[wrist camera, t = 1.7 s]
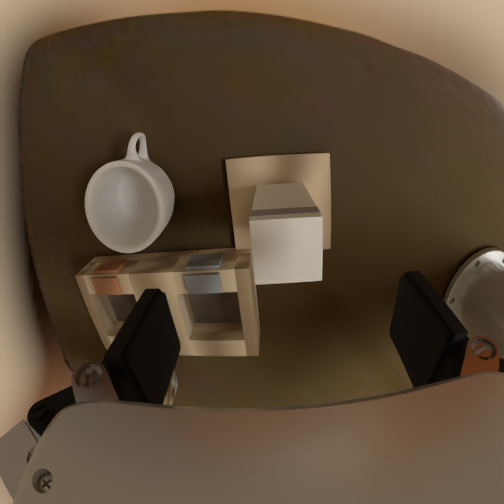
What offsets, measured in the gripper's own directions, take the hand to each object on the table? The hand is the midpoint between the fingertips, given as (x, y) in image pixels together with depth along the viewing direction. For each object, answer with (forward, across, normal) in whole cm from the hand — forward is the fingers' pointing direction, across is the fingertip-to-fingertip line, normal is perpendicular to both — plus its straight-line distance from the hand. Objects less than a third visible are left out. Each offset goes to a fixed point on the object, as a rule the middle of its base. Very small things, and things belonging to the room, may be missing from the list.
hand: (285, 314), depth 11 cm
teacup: (+17, +12, -3) cm, 21 cm away
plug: (+16, -1, 0) cm, 16 cm away
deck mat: (+16, -1, 0) cm, 17 cm away
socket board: (+17, +11, +9) cm, 22 cm away
